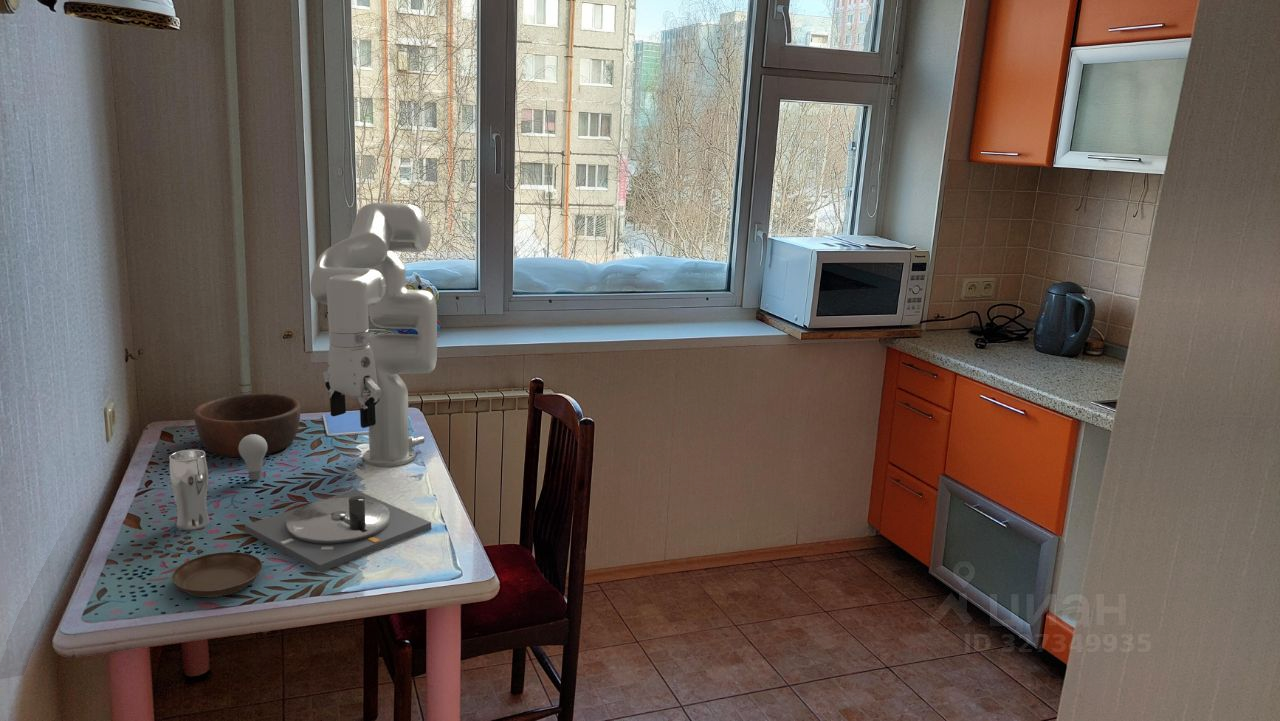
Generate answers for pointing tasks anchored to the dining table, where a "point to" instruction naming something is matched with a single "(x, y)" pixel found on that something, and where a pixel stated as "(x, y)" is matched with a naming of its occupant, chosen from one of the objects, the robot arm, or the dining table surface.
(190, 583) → the saucer
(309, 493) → the dining table surface
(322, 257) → the robot arm
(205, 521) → the beer glass
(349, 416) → the tablet computer
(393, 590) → the dining table surface
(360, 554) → the dial plate
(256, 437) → the lightbulb
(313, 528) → the dial
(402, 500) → the dining table surface
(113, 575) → the dining table surface
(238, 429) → the wooden bowl
